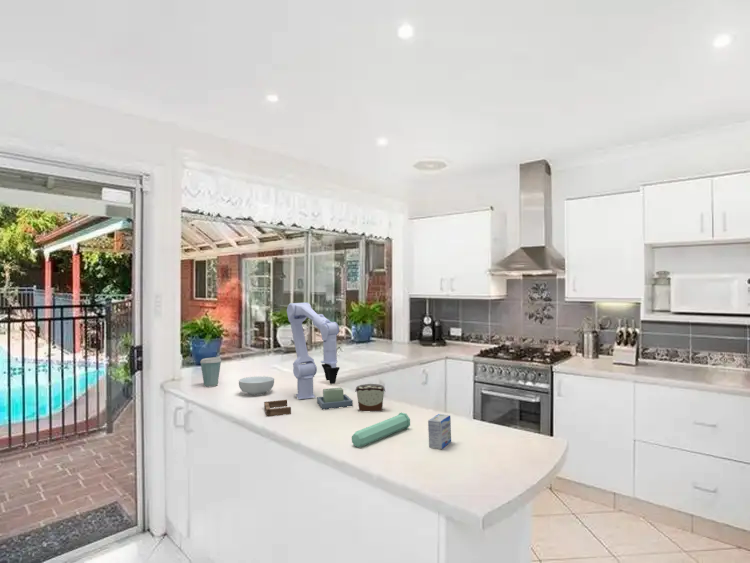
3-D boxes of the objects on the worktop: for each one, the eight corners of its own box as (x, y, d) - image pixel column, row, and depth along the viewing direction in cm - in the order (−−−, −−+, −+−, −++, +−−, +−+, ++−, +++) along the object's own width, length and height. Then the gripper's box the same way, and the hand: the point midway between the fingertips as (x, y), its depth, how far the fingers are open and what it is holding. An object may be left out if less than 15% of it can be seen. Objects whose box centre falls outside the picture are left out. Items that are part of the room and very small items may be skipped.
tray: (317, 402, 196) (316, 397, 196) (345, 399, 200) (345, 394, 200) (322, 409, 184) (322, 403, 184) (352, 406, 188) (352, 400, 188)
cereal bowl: (269, 397, 208) (269, 382, 208) (234, 398, 208) (233, 383, 208) (278, 389, 225) (277, 375, 225) (245, 389, 225) (245, 375, 225)
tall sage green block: (323, 403, 193) (322, 389, 193) (341, 401, 195) (340, 387, 195) (325, 405, 189) (325, 391, 189) (343, 403, 191) (343, 389, 191)
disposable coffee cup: (196, 387, 232) (195, 359, 232) (207, 383, 242) (206, 355, 243) (215, 388, 230) (214, 359, 230) (225, 383, 241) (225, 355, 241)
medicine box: (441, 450, 136) (440, 421, 137) (428, 447, 139) (427, 419, 139) (451, 442, 143) (450, 415, 143) (438, 439, 145) (438, 413, 146)
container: (357, 429, 139) (407, 410, 158) (346, 433, 143) (395, 414, 161) (363, 448, 138) (412, 427, 156) (351, 452, 141) (400, 430, 160)
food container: (386, 407, 186) (386, 383, 186) (385, 411, 180) (385, 386, 180) (357, 407, 187) (357, 383, 187) (355, 411, 181) (355, 386, 181)
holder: (264, 407, 190) (264, 401, 190) (286, 405, 193) (286, 399, 193) (266, 416, 177) (266, 410, 177) (291, 413, 179) (290, 407, 179)
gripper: (317, 348, 198) (318, 379, 198) (324, 353, 184) (325, 386, 184) (333, 347, 200) (333, 378, 200) (340, 352, 187) (341, 384, 187)
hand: (330, 381), depth 192 cm, fingers open, 7 cm apart
